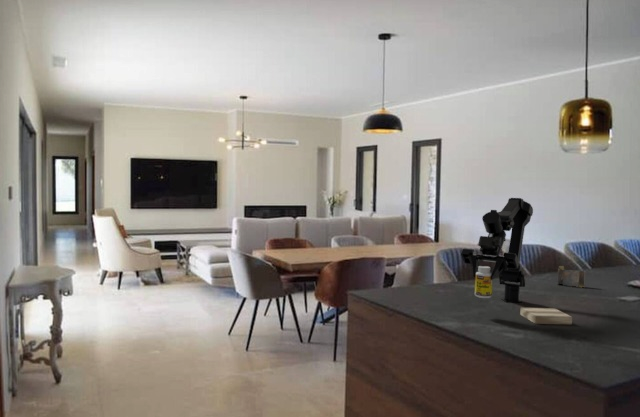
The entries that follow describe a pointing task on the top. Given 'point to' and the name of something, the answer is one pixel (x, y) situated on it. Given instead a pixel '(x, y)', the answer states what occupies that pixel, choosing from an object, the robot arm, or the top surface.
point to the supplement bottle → (483, 282)
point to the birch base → (545, 316)
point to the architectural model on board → (571, 277)
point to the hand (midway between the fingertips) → (482, 277)
